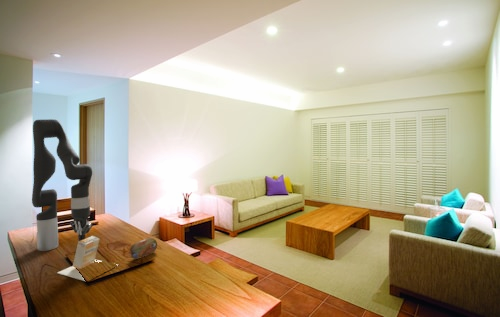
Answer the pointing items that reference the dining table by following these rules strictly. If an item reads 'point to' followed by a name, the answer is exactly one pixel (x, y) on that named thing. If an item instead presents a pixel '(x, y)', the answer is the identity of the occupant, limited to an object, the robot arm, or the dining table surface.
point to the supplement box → (86, 252)
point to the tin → (143, 248)
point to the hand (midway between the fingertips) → (82, 241)
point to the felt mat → (74, 272)
